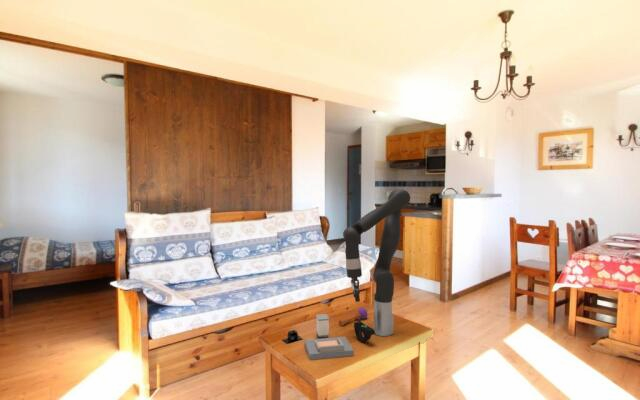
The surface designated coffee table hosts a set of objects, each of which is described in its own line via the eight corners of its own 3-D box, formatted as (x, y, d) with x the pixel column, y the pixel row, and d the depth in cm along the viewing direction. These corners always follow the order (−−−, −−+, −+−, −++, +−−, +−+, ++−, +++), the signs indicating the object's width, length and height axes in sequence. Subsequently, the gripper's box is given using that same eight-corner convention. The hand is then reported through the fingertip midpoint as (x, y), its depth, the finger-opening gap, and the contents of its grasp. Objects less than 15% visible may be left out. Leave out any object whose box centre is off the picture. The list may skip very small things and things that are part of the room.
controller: (358, 336, 171) (358, 316, 170) (376, 345, 161) (376, 325, 160) (352, 338, 168) (352, 318, 168) (369, 348, 158) (369, 327, 158)
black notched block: (284, 346, 160) (284, 337, 160) (277, 340, 166) (277, 331, 166) (307, 340, 167) (307, 331, 166) (299, 334, 173) (299, 326, 173)
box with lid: (326, 334, 172) (326, 313, 172) (329, 340, 166) (329, 318, 165) (315, 335, 171) (316, 314, 171) (318, 341, 165) (318, 319, 164)
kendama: (336, 317, 185) (361, 306, 198) (337, 328, 185) (362, 316, 198) (343, 318, 181) (368, 307, 193) (345, 329, 180) (370, 317, 193)
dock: (345, 341, 165) (345, 331, 164) (353, 355, 151) (353, 344, 151) (304, 345, 161) (304, 334, 160) (309, 360, 147) (309, 348, 147)
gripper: (362, 269, 163) (366, 302, 163) (359, 264, 177) (362, 295, 177) (347, 270, 163) (350, 304, 163) (345, 265, 177) (348, 296, 177)
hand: (356, 299), depth 170 cm, fingers open, 8 cm apart
